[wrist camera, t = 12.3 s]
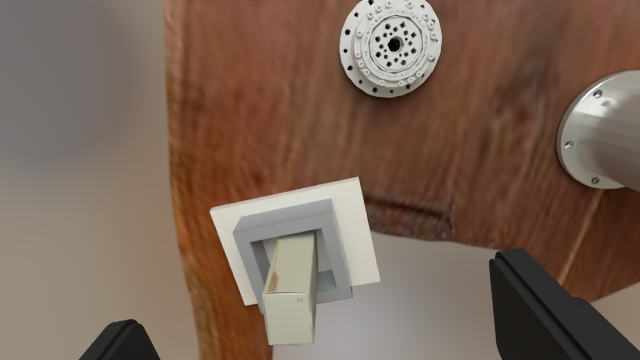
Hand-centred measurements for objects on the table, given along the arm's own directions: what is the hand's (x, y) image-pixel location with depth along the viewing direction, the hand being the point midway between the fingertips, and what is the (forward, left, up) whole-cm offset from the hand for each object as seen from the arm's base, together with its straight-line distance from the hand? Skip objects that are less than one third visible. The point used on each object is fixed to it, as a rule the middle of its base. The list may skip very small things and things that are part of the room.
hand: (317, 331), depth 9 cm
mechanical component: (-8, -6, -31) cm, 32 cm away
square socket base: (+7, +14, -30) cm, 34 cm away
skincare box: (+7, +14, -29) cm, 33 cm away
